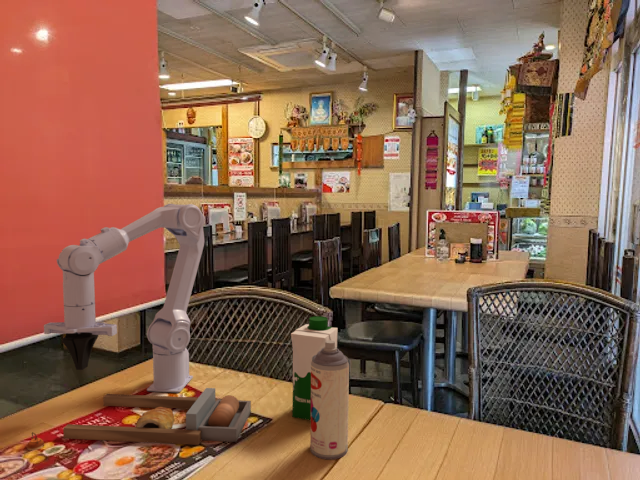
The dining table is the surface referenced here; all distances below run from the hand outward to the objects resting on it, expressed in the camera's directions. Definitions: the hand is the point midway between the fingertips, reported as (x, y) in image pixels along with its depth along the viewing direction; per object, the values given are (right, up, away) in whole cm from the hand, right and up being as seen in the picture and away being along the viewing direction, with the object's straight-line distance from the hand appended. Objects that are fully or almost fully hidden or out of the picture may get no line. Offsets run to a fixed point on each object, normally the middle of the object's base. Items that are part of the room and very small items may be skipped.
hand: (81, 368), depth 96 cm
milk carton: (+48, -10, +2) cm, 49 cm away
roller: (+31, -10, -4) cm, 32 cm away
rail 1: (+15, -10, +5) cm, 19 cm away
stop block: (+26, -10, -3) cm, 28 cm away
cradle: (+31, -11, -3) cm, 33 cm away
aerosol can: (+51, -12, -12) cm, 54 cm away
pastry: (+17, -11, -5) cm, 21 cm away
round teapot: (-2, -11, -12) cm, 16 cm away
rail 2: (+14, -11, -9) cm, 20 cm away
